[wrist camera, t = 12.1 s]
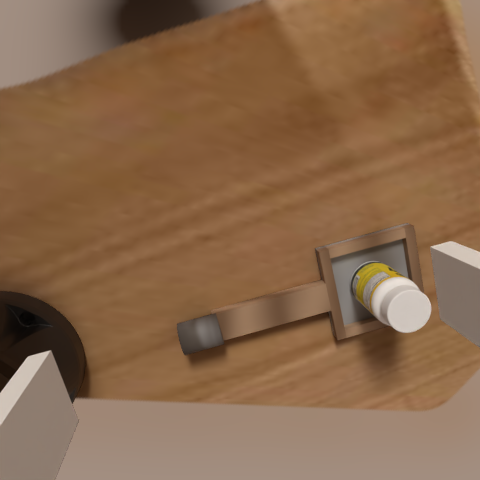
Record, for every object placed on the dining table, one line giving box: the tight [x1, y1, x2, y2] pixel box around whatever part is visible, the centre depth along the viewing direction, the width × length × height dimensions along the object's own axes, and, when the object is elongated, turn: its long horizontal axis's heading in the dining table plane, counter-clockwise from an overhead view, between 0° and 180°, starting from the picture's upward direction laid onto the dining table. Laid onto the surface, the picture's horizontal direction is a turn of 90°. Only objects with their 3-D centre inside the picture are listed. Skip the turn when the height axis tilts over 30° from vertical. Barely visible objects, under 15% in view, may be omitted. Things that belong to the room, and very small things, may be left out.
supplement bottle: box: [350, 261, 431, 333], centre depth 41 cm, size 5×5×8 cm
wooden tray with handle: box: [177, 223, 424, 355], centre depth 44 cm, size 26×10×3 cm, turn 104°
